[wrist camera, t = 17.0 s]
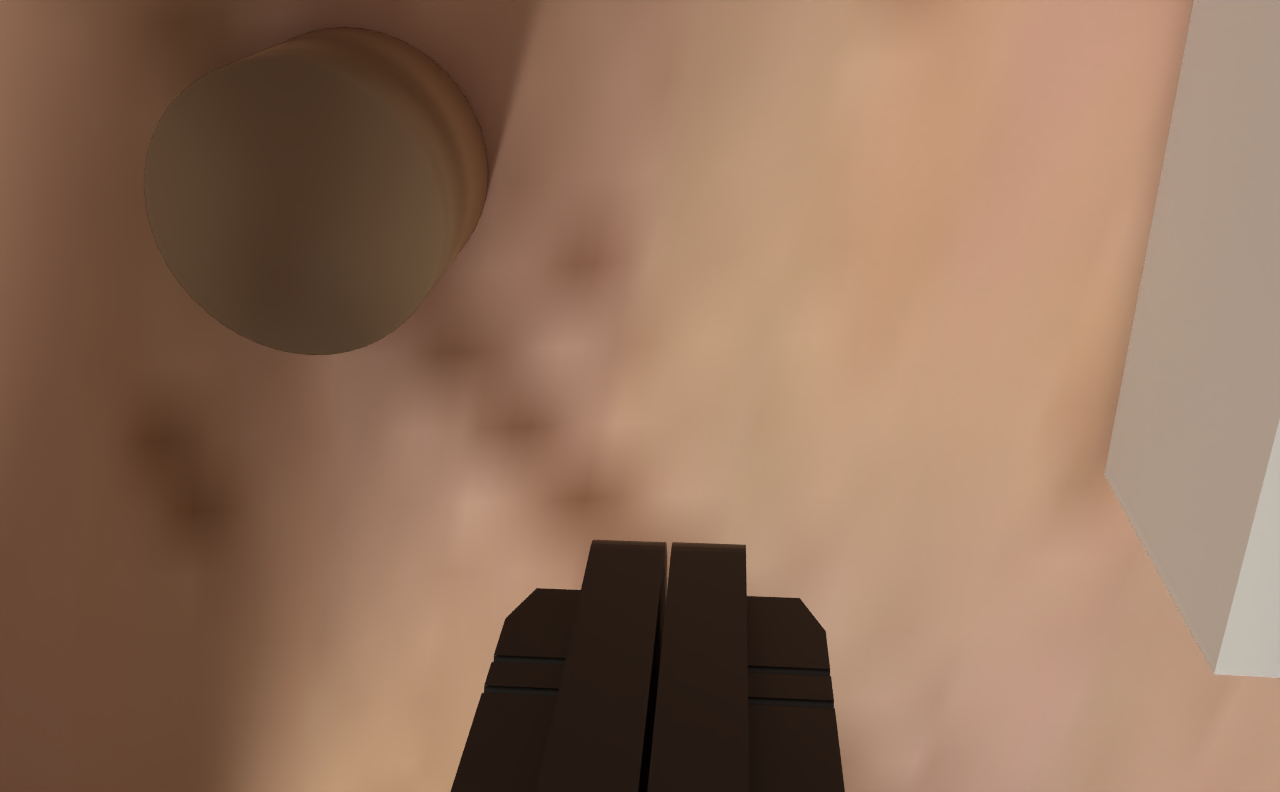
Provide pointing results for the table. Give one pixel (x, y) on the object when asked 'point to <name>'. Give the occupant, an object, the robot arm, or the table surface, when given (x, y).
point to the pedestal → (316, 188)
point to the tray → (1212, 347)
